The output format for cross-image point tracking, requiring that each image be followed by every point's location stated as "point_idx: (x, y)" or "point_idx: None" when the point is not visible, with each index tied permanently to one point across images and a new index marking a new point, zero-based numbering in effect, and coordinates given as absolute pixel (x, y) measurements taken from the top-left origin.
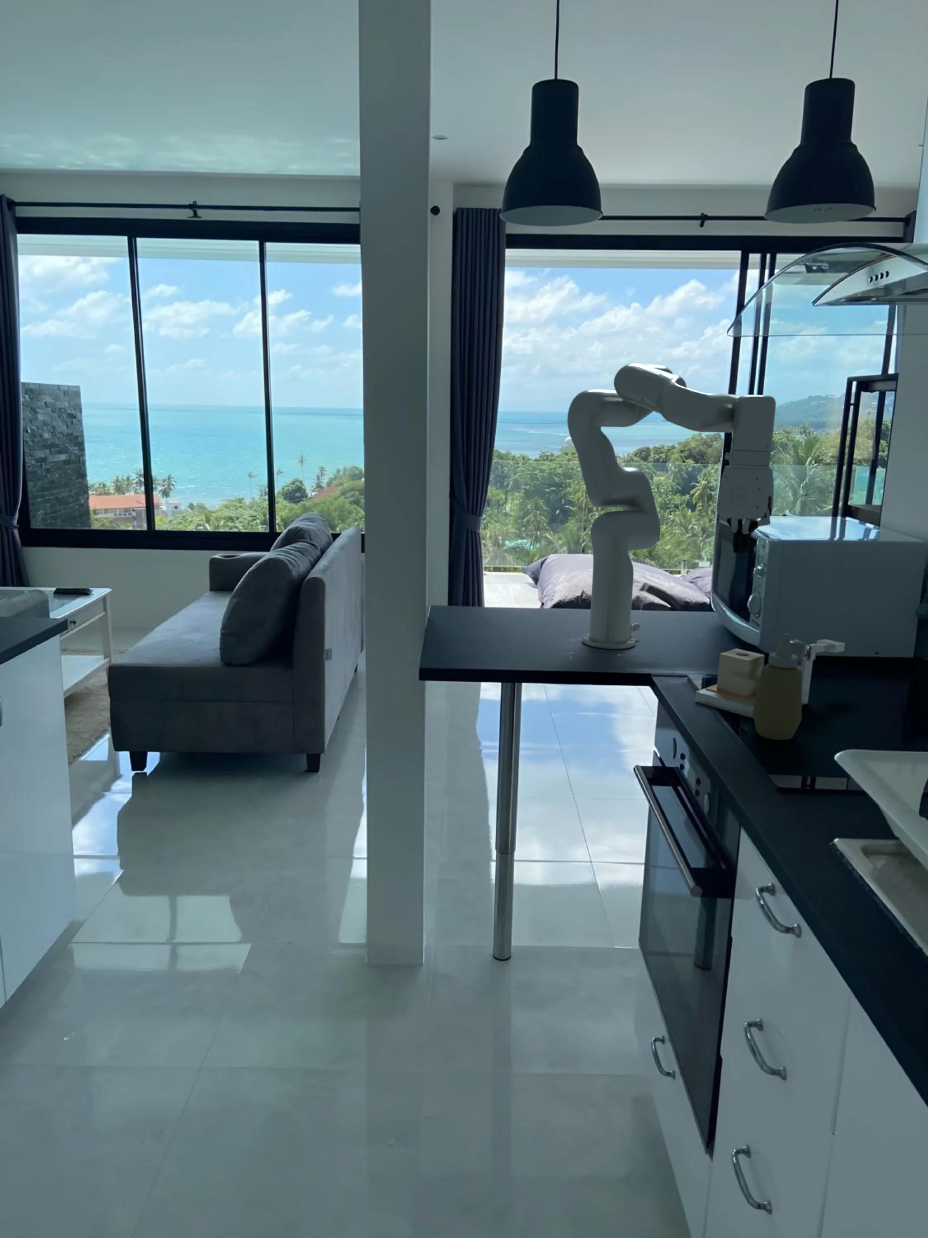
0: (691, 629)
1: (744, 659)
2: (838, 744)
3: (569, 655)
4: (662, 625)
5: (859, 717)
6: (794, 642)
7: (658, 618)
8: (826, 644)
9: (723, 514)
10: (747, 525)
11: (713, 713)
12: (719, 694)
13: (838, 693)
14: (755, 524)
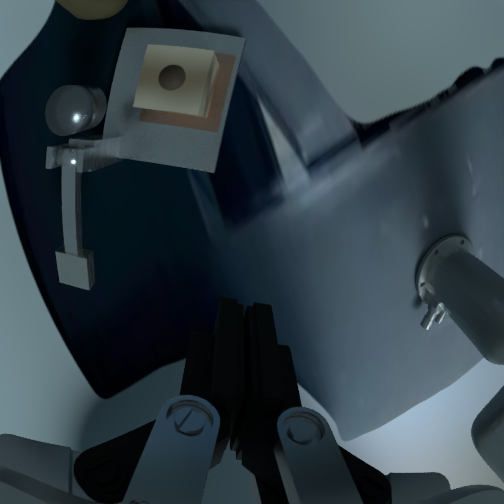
0: (356, 392)
1: (156, 45)
2: (46, 36)
3: (473, 175)
4: (390, 383)
5: (43, 149)
6: (60, 104)
7: (396, 400)
8: (66, 244)
9: (461, 498)
10: (158, 460)
11: (202, 13)
12: (206, 47)
13: (91, 236)
14: (86, 464)
